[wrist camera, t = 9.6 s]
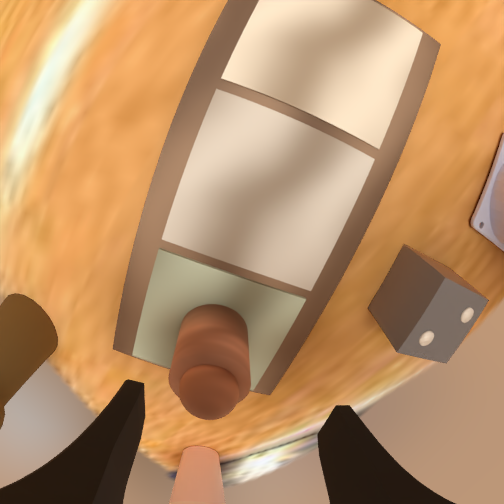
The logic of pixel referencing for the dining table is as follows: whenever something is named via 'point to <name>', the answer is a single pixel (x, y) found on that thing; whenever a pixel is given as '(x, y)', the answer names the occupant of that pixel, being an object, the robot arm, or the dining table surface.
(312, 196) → the game board
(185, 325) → the pawn
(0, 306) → the olive brown pawn
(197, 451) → the smoothie
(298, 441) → the dining table surface
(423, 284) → the die
